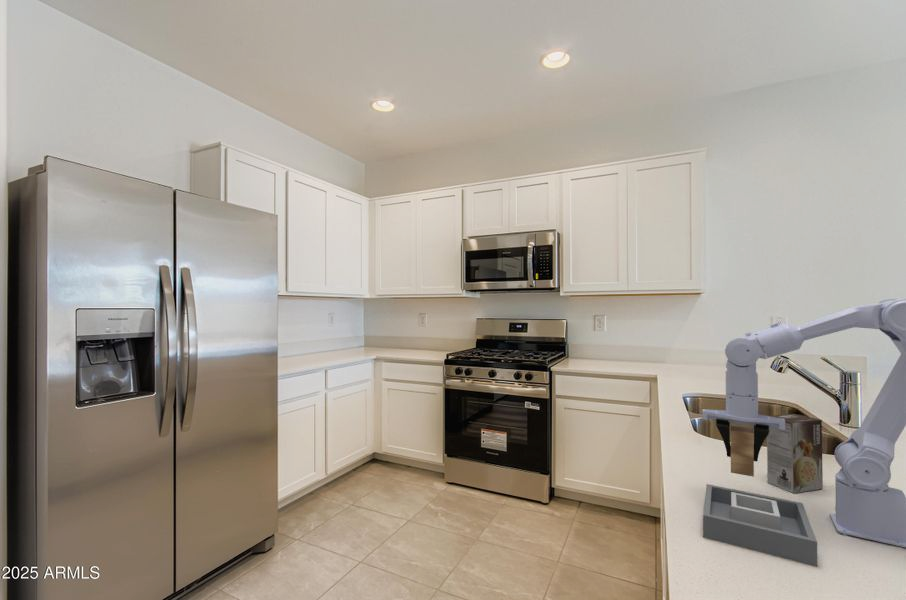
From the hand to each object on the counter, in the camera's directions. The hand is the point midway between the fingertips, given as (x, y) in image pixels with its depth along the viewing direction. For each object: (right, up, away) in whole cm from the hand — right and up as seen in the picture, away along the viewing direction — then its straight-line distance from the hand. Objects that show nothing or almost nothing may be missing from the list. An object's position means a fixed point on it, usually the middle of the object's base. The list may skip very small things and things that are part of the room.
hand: (741, 457), depth 90 cm
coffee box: (+19, -10, +9) cm, 23 cm away
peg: (0, -3, 0) cm, 3 cm away
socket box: (-5, -10, -10) cm, 15 cm away
